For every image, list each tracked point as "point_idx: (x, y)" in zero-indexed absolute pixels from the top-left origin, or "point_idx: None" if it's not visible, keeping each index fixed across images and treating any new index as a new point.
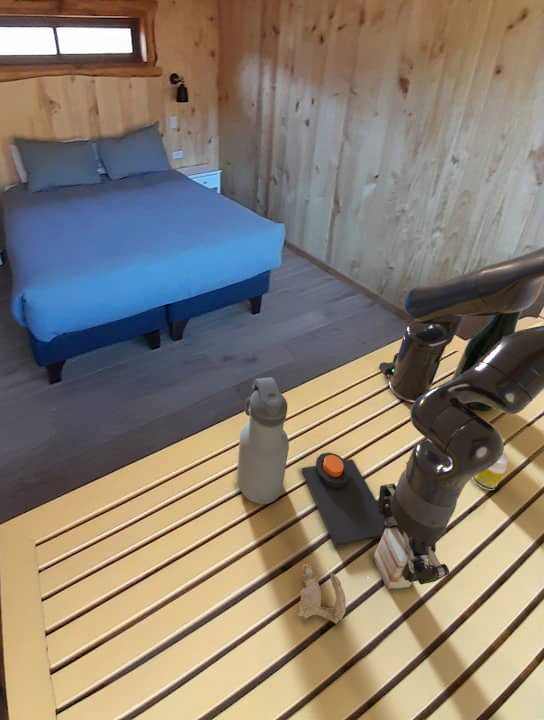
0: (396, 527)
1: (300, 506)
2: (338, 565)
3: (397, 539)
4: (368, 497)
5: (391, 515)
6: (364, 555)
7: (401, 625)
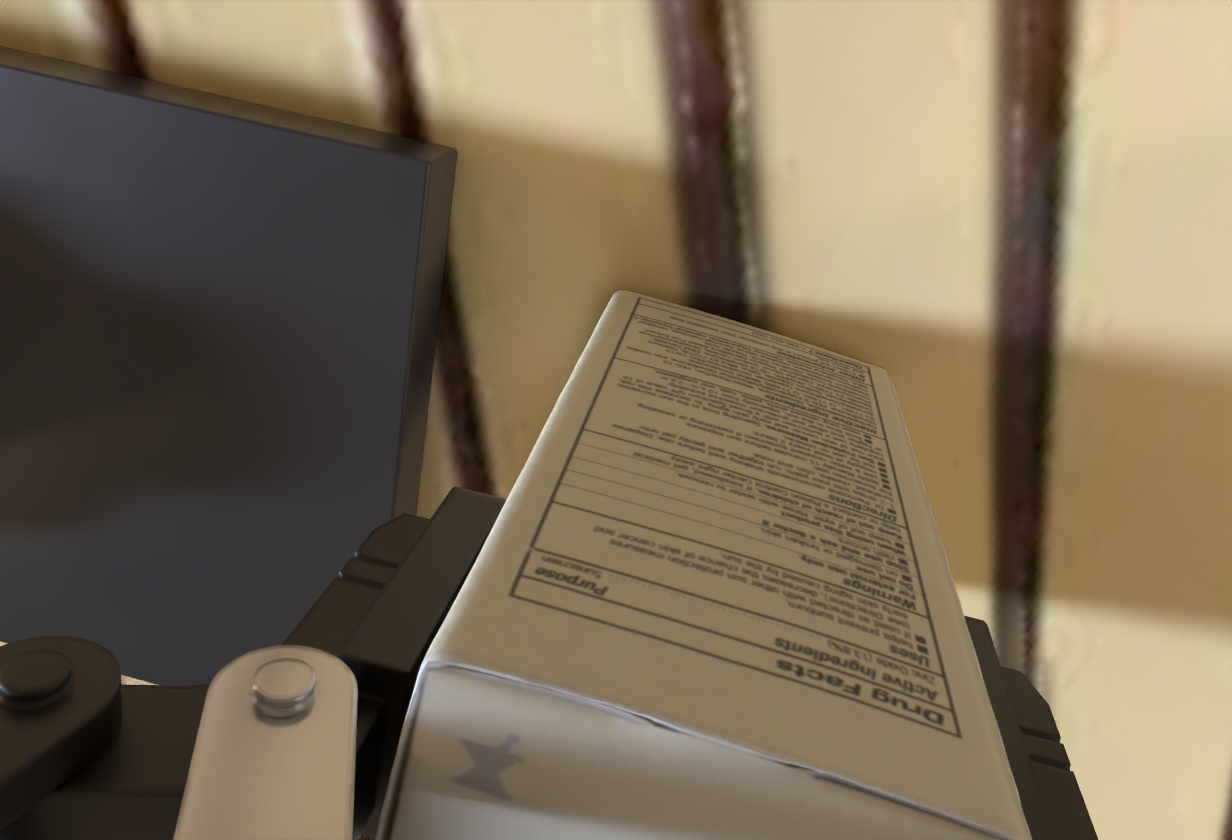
0: (383, 819)
1: None
2: None
3: None
4: (34, 148)
5: (161, 833)
6: None
7: (1048, 650)
